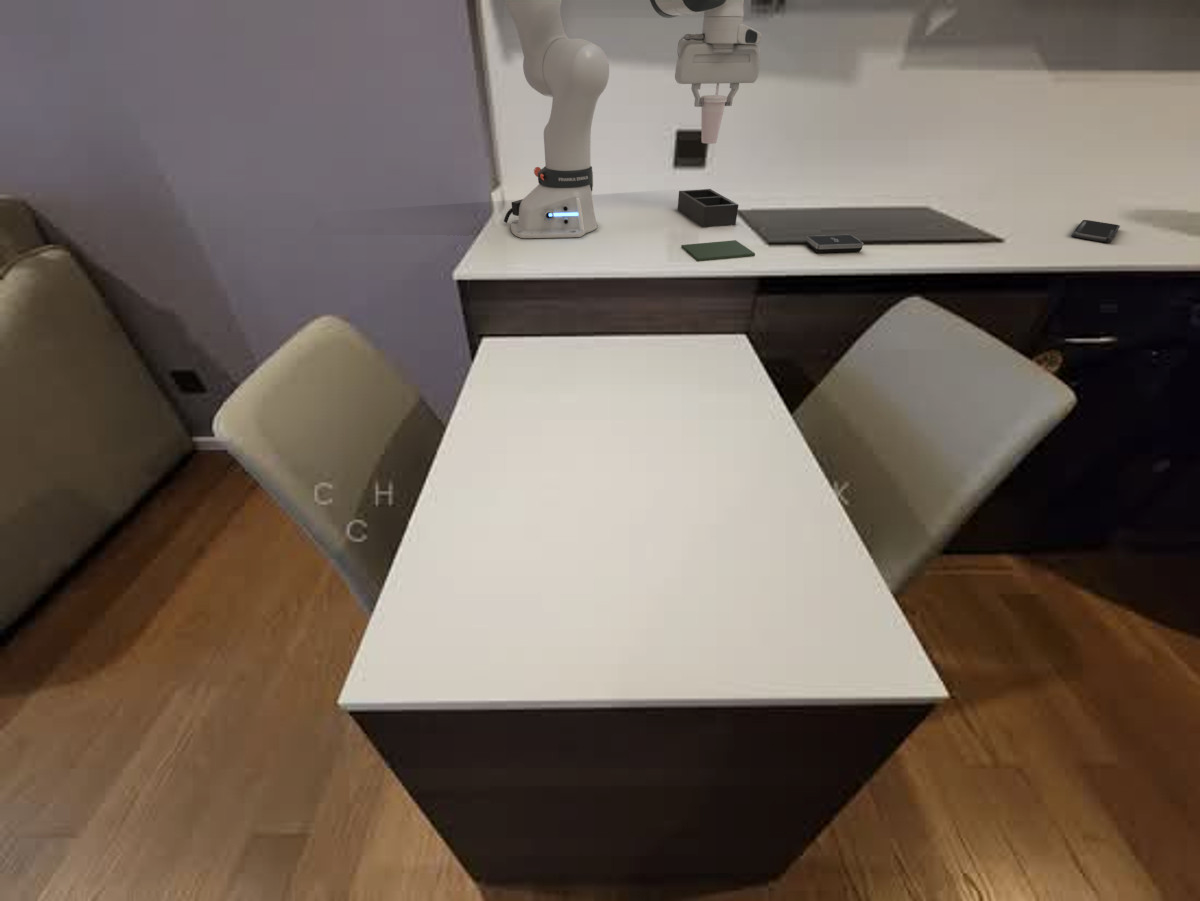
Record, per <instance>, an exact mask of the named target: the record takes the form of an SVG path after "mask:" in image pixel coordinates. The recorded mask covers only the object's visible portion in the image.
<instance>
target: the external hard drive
mask: <svg viewBox="0 0 1200 901" xmlns="http://www.w3.org/2000/svg"><path fill="white" fill-rule="evenodd" d="M805 245H807V246H808V247H810V248H811V249H812V250H813V251H814V252H815V253H818V254H823V253H847V252H848V253H849V252H850V253H851V252H860V251H862V249H863V246H864V242H863V241H861V240H860V239H858V237H855V236H853V235H852V234H829V235H828V234H824V235H807V236H806V240H805Z"/></svg>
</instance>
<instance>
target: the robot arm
mask: <svg viewBox="0 0 1200 901" xmlns="http://www.w3.org/2000/svg"><path fill="white" fill-rule="evenodd" d="M503 1H504V3H505V6H506V8H507V10H508V12H509V14H510V17H511V19H512V21H513V23H514V27H515V29H516V32H517V35H518V39H519V43H520V45H521V50H522V54H523V61H522V69H523V74H524V78H525V80H526V83H528V85H529V86H530V87H531V88H532V89H534V90H535V91H536V92H537V93H539V94H541V95H542V96H544V97H549V98H552V103H551V109H550V115H549V119H548V122H547V124H546V125H545V126H544V129H543V146H544V147H543V148H544V162H545V166H544V167H542V168H541V167H540V166H536V167H534V169H533V174H534V175H535V177H537V181H538V182H537V183H538V185H536V187H535V188H533V189H532V190H531V191H530V192H529V193H528V194H527V195H526V196H524V197H523V198H522V199H517V200H515V201H511V208H510V209H508V211H507V212H506V214H505V216H504V219H503V222H504V223H506V224H507V223H508V221H509V219H510V216H511V214H512V216H516V217H518V219H515V220H513V221H511V223H510V231H511V233H512V234H513V235H515V236H516V237H517V238H521V239H555V238H556V239H557V238H580V237H583V236H584V235H586V234H587V233H591V232H593V231H595V230H597V228H598V226H599V225H598V222H597V219H596V214H595V208H594V203H593V202H594V201H593V187H594V172H593V166H592V165H591V134H592V125H593V124H592V123H593V119H594V113H595V110H596V106H597V103H598V100H599V98H600V96H601V95H602V94H603V92H604V91H605V89H606V87H607V85H608V83H609V78H610V64H609V60H608V57H607V55H606V53H605V52H604V50H603V49H602V48H601V47H600V46H599V45H597V44H595V43H593V42H591V41H589V40H588V39H584V38H573V37H572V38H569V37H568V35H567V34H566V32H565V30H564V25H563V20H562V14H561V6H562V2H563V0H503ZM649 2H650V4H651V6H652V8H653V10H654V11H655V12H656V13H657V15H659V16H661V17H662V18H666V19H671V18H675V17H680V16H690V15H699V14H701V13H703V21H702V30H701V33H695V34H694V33H693V34H692V33H685V34H684V35H683V36H682V37H680V39H679V40H678V42H677V60H676V64H675V72H674V80H675V81H676V83H677V84H680V85H691V86H690V87H691V92H692V95H693V97H694V102H693V103H694V104H693V105H694V107H696V108H702V106H703V103H702V102H703V98H701V96H700V92H699V90H701V86H702V84H703V85H707V84H709V85H710V84H711V85H712V84H713V85H714V84H716V85H717V83H719V84H729V89H730V91H729V93H728V94H727V96H726V97H727V102H725V107H732V105H733V100H734V97H735V95H736V94H737V92H738V91H739V89H740V84H755V82H756V81H757V79H758V78H759V73H760V68H761V67H760V65H761V48H760V46H759V44H760V43H761V42H762V33H761V32H760V31H758V30H756V29H754V28H752V27H750V26H748V25H746V24H744V17H745V16H744V15H745V10H744V3H745V0H649Z"/></svg>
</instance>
